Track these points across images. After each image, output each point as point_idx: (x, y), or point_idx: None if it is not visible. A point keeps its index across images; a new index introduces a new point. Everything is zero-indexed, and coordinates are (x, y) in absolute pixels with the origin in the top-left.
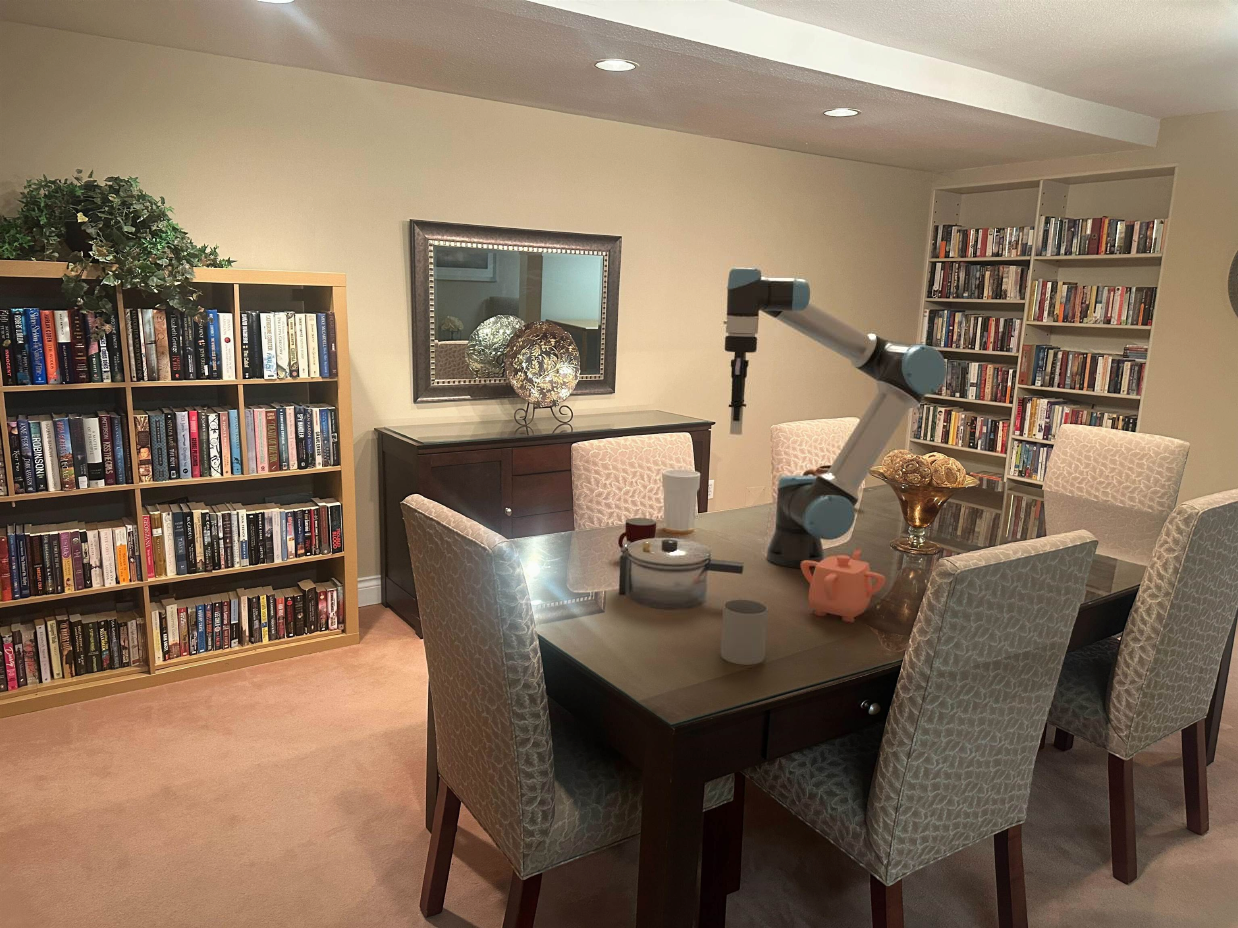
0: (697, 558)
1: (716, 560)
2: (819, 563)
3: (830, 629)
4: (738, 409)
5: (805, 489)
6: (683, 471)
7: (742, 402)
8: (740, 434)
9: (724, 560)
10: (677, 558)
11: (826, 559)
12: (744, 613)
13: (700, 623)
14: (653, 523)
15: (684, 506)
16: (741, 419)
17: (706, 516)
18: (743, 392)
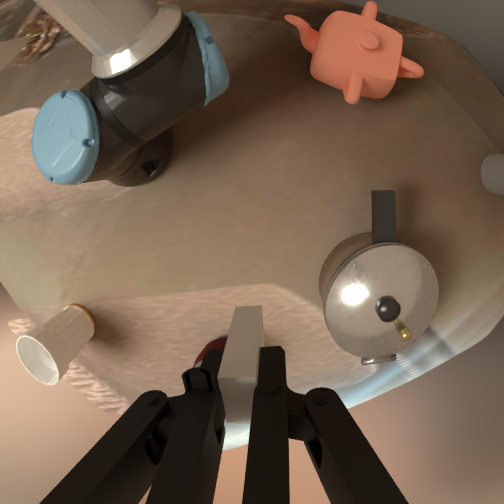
0: (420, 258)
1: (380, 233)
2: (377, 75)
3: (407, 80)
4: (286, 387)
5: (128, 107)
6: (21, 357)
7: (214, 401)
8: (261, 308)
9: (376, 222)
10: (427, 283)
11: (350, 64)
12: (502, 177)
13: (439, 224)
14: (198, 360)
15: (70, 331)
16: (259, 342)
17: (18, 296)
18: (194, 447)
